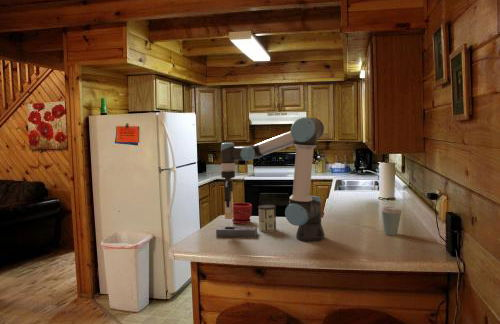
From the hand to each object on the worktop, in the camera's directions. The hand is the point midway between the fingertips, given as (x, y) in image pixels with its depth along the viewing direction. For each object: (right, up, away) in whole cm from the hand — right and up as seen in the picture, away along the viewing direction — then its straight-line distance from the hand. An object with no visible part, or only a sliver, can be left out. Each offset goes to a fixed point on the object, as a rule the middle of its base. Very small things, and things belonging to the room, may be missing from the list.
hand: (229, 211), depth 238 cm
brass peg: (0, -4, 0) cm, 4 cm away
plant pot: (+7, -11, +31) cm, 34 cm away
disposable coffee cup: (+89, -12, -5) cm, 90 cm away
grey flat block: (+4, -13, +1) cm, 14 cm away
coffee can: (+22, -12, +11) cm, 28 cm away
